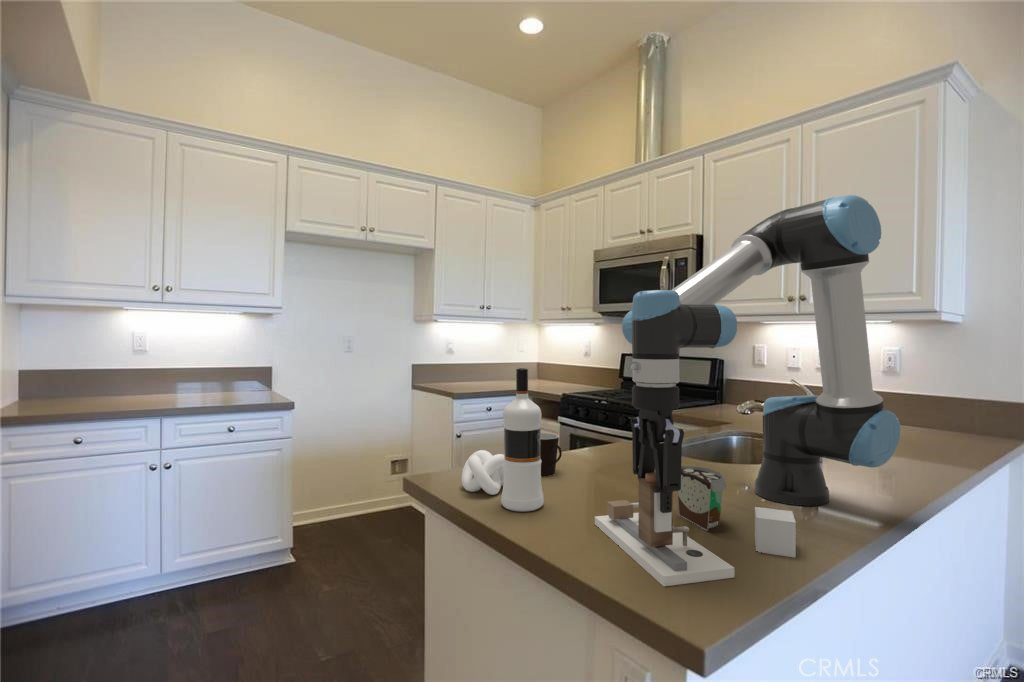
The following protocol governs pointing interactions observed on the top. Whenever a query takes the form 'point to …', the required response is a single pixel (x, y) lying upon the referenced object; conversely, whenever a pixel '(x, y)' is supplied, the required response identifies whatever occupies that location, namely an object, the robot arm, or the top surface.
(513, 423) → the vodka
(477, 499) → the top surface
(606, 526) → the board
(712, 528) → the food container
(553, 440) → the coffee mug
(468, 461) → the white decorative knot
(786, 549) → the white cube
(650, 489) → the sliding handle
